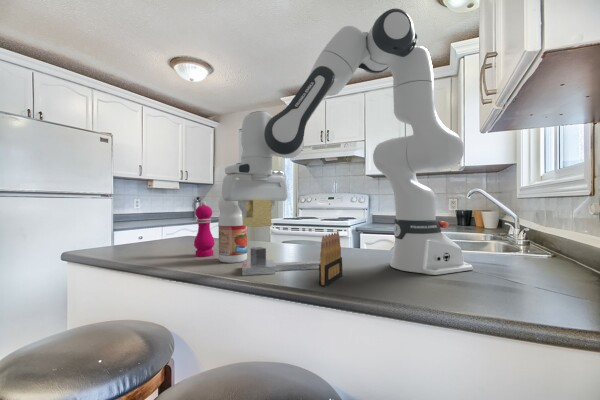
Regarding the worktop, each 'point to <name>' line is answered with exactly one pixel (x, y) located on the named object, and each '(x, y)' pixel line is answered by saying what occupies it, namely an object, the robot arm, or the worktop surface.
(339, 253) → the ammunition clip
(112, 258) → the worktop surface
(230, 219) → the fruit juice
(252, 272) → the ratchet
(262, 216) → the tan sponge block
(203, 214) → the pepper mill
